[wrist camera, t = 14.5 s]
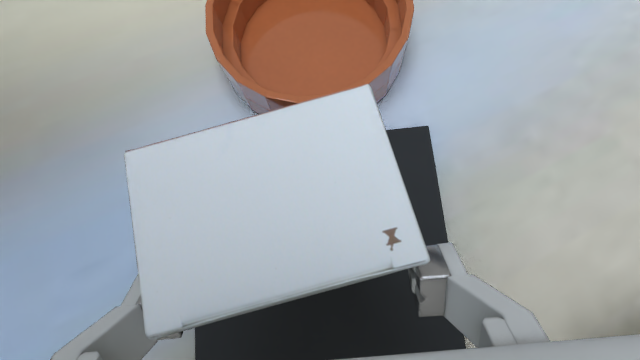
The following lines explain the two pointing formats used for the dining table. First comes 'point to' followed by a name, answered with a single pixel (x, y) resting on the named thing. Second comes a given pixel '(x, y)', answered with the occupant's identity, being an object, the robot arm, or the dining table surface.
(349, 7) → the bowl
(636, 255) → the dining table surface
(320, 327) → the mat
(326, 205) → the small box
